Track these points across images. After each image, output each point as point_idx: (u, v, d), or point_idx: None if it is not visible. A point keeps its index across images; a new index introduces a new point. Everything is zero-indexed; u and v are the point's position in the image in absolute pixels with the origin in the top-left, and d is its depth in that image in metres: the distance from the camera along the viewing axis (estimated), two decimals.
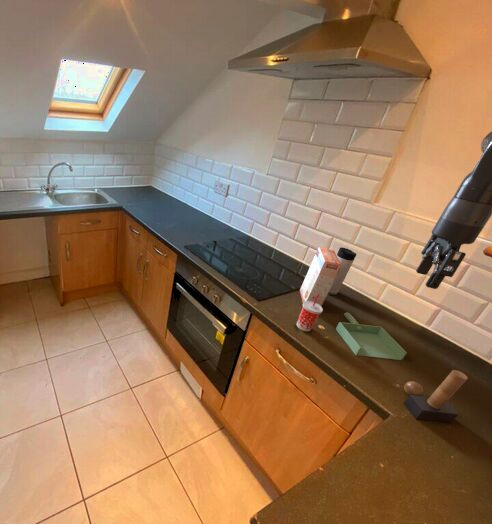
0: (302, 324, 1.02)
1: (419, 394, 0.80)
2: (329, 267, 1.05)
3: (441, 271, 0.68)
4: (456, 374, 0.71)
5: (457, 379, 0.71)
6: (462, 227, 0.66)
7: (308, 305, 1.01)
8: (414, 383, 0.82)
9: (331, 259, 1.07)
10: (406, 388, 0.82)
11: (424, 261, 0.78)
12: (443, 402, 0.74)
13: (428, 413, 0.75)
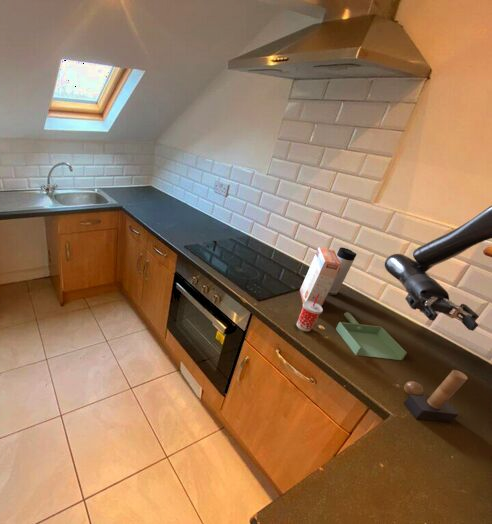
0: (302, 324, 1.02)
1: (419, 394, 0.80)
2: (329, 267, 1.05)
3: (411, 306, 0.84)
4: (456, 374, 0.71)
5: (457, 379, 0.71)
6: (411, 291, 0.91)
7: (308, 305, 1.01)
8: (414, 383, 0.82)
9: (331, 259, 1.07)
10: (406, 388, 0.82)
11: (463, 321, 0.79)
12: (443, 402, 0.74)
13: (428, 413, 0.75)
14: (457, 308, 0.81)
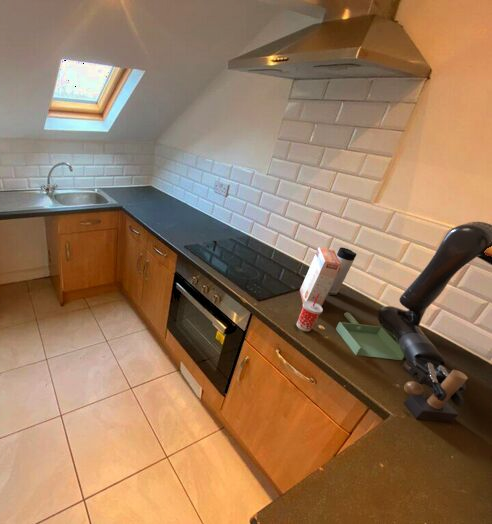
0: (302, 324, 1.02)
1: (419, 394, 0.80)
2: (329, 267, 1.05)
3: (417, 380, 0.78)
4: (456, 374, 0.71)
5: (457, 379, 0.71)
6: (405, 352, 0.86)
7: (308, 305, 1.01)
8: (414, 383, 0.82)
9: (331, 259, 1.07)
10: (406, 388, 0.82)
11: None
12: (443, 402, 0.74)
13: (428, 413, 0.75)
14: None
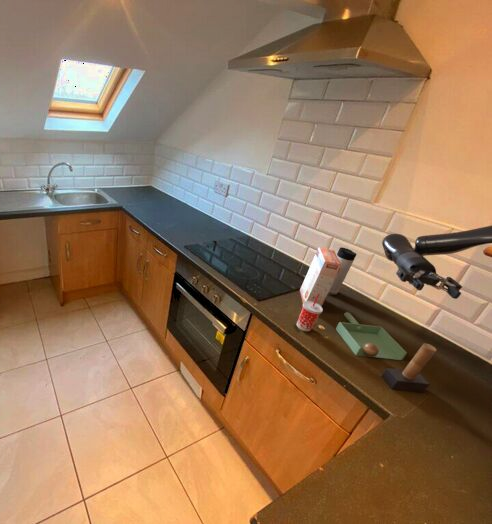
0: (302, 324, 1.02)
1: None
2: (329, 267, 1.05)
3: (401, 279, 0.91)
4: (426, 347, 0.79)
5: (427, 351, 0.79)
6: (401, 267, 0.98)
7: (308, 305, 1.01)
8: (369, 343, 0.95)
9: (331, 259, 1.07)
10: (371, 348, 0.93)
11: (447, 291, 0.87)
12: (416, 373, 0.82)
13: (402, 383, 0.83)
14: (443, 280, 0.88)
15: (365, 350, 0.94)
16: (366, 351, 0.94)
